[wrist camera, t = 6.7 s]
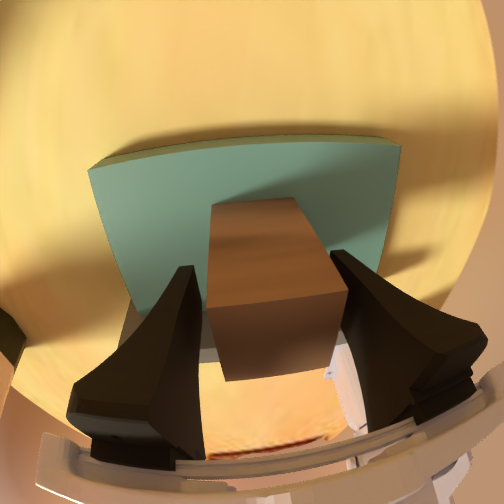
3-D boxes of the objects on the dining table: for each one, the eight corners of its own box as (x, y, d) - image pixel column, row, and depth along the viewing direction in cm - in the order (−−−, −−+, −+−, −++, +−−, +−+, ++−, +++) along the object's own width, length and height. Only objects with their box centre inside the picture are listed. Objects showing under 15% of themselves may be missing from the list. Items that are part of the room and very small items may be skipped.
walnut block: (291, 263, 15) (329, 366, 10) (221, 270, 15) (225, 381, 9) (293, 196, 13) (348, 289, 7) (211, 204, 13) (206, 308, 7)
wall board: (368, 284, 20) (395, 331, 16) (138, 310, 19) (126, 364, 15) (395, 138, 14) (449, 165, 10) (87, 162, 13) (41, 199, 9)
